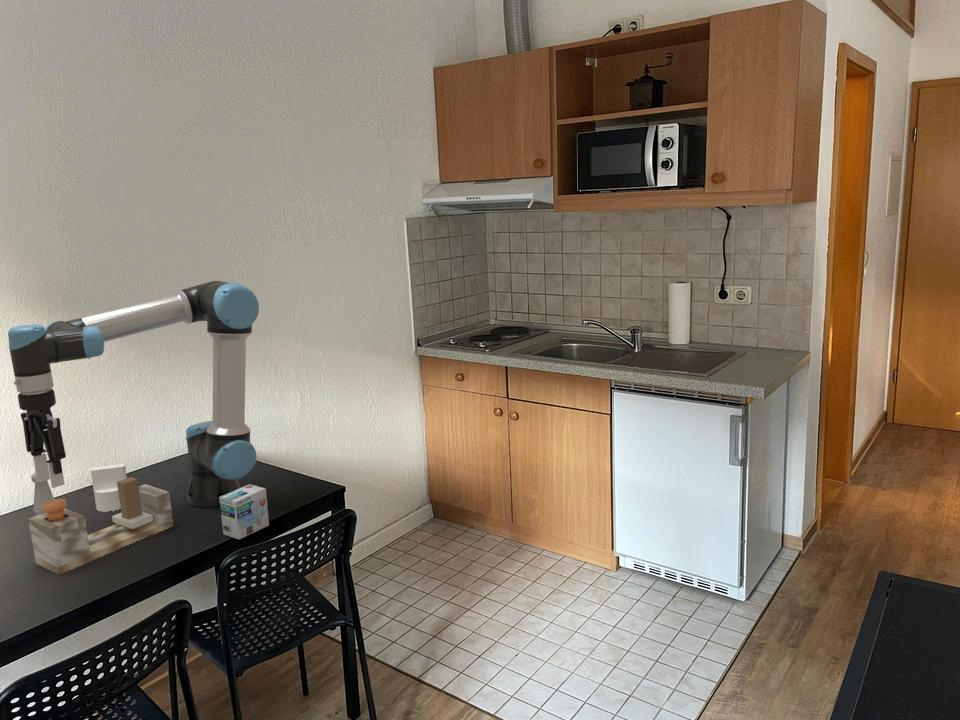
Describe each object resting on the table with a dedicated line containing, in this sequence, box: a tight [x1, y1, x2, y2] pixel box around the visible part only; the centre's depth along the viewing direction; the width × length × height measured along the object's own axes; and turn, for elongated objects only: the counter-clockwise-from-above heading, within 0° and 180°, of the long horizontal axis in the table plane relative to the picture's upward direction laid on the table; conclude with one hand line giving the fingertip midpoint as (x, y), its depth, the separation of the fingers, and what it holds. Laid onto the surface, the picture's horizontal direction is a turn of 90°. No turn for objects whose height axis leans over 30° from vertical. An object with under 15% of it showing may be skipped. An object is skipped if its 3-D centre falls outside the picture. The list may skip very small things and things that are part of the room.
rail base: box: [27, 483, 174, 576], centre depth 195 cm, size 31×11×12 cm, turn 146°
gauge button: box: [42, 498, 68, 522], centre depth 184 cm, size 5×5×5 cm
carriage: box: [111, 476, 153, 529], centre depth 200 cm, size 6×9×12 cm, turn 56°
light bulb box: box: [219, 483, 270, 540], centre depth 201 cm, size 11×7×11 cm, turn 148°
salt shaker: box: [30, 472, 55, 516], centre depth 214 cm, size 6×6×13 cm
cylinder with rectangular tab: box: [90, 462, 128, 513], centre depth 220 cm, size 9×9×12 cm
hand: (50, 483), depth 182 cm, fingers open, 6 cm apart
